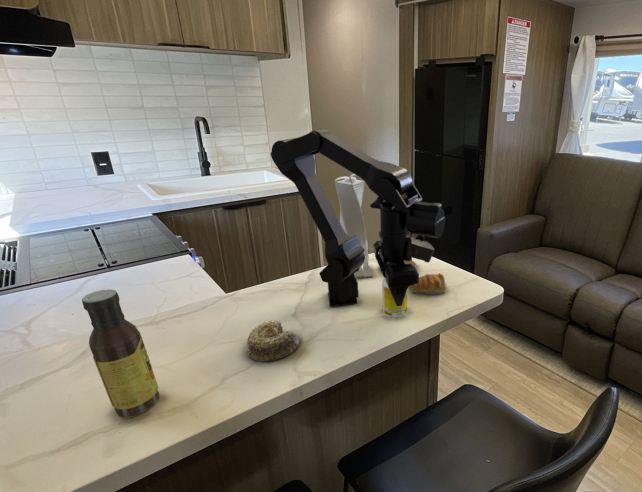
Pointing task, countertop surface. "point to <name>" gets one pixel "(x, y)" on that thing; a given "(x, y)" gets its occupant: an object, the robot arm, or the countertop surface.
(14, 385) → the countertop surface
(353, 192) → the skyscraper
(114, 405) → the sauce bottle
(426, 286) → the pastry
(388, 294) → the supplement bottle
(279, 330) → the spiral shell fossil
